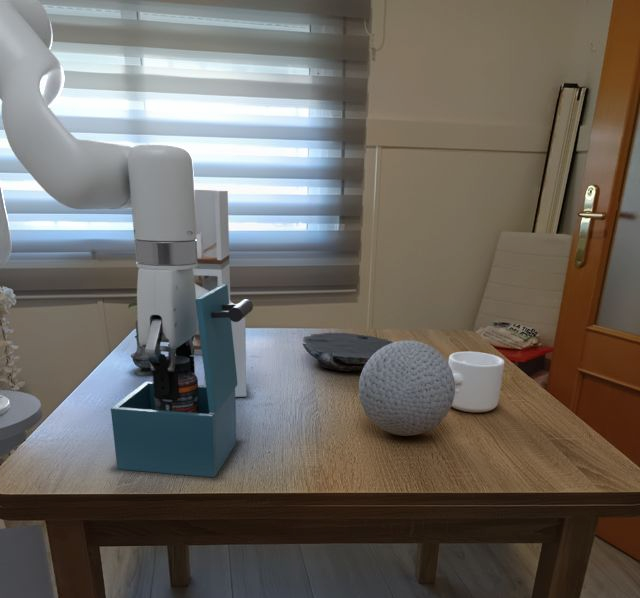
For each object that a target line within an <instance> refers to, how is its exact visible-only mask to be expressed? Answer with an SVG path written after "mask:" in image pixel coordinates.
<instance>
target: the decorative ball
mask: <svg viewBox="0 0 640 598" xmlns="http://www.w3.org/2000/svg"><path fill="white" fill-rule="evenodd" d="M448 362H449V361H447V359H446V358H445V357H444V355H442V354H441V352H439V351H438V350H436V349H435V348H434V347H432V346H431V345H428V344H426V343H424V342H421V341H417V340H408V339H407V340H405V339H404V340H398V341H394V343H391V344H388V345H386V346H384V347H382V348H381V349H379V350H378V351H377V352H375V353H374V354H373V355H372V356H371V357H370V359H369V360H368V361H367V363H366V364H365V366H364V368H363V370H361V373H360V375H359V380H358V397H359V401H360V404H361V407H362V409H363V411H364V413H365V415H366V416H367V418H368V419H369V420H370V421H371V422H372V423H373V424H374V425H375V426H376V427H378V428H379V429H381V430H383V431H384V432H387V433H389V434H392V435H395V436H403V437H409V436H410V437H411V436H417V435H421V434H424V433H426V432H428V431H430V430H432V429H435V427H436V426H438V425H439V424H440V423H441V422H442V421H443V420H444V419H445V417H446V416H447V415H448V414H449V411H450V410H451V408H452V407H451V406H452V403H453V399H454V395H455V381H454V376H453V373H452V370H451V368H450V366H449V364H448Z"/></svg>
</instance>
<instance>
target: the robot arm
mask: <svg viewBox="0 0 640 598" xmlns="http://www.w3.org/2000/svg"><path fill="white" fill-rule="evenodd" d="M47 12H48V11H47V10H46V8H45V7H44V6H43V4H42V3H41V2H40V0H0V101H1V120H2V124H3V128H4V132H5V136H6V140H7V141H8V144H9V147H10V149H11V151H12V152H13V154H14V156H15V158H17V160H18V162H19V163H20V164H21V165H22V166H23V167H24V169H26V171H27V172H28V173H29V174H30V176H31V177H32V178H33V179H34V181H35V182H36V183H37V184H38V185H39V186H40V187H41V188H42V189H43V190H44V191H45V192H46V193H47V194H48V195H49V196H50V197H51V198H53V199H54V200H55V201H56V202H58V203H59V204H61V205H63V206H65V207H67V208H70V209H74V210H128V209H129V210H131V215H132V228H133V237H134V253H135V264H136V268H138V270H137V283H136V315H137V316H136V317H137V320H138V337H139V344H140V345H141V346H142V347H143V348H145V353H146V355H147V356H148V358H149V361H150V363H151V370H152V373H153V375H152V382H153V386H154V397H155V398H156V399H164V400H177V399H178V398H179V385H178V370H174V368H175V356H184V357H187V358H189V359H190V366H191V368H190V370H191V372H193V373H194V374H195V375H196V370H195V369H196V368H195V354H194V346H193V340H194V339H193V338H194V335H195V334H196V332H197V310H196V302H195V299H196V291H195V281H194V273H193V269H194V268H196V267H198V260H197V240H196V239H197V238H196V215H195V193H194V190H195V176H194V175H195V173H194V161H193V157H192V154H191V153H190V152H189V151H188V150H187V149H185V148H184V147H180V146H176V145H167V144H164V145H163V144H137V145H135V146H131V145H124V144H117V143H109V142H104V141H99V140H98V141H97V140H90V139H80V138H76V137H75V136H74V135H73V134H72V133H71V132H70V131H69V130H68V129H67V127H66V126H65V125H64V124H63V123H62V122H61V120H60V119H59V118H58V117H57V116H56V114H55V113H54V112H53V111H52V109H51V106H52V105H53V104H54V103H55V102H56V101H57V99H58V98H59V97H60V95H61V93H62V91H63V89H64V84H65V72H64V69H63V65H62V64H61V63H60V61H59V59H58V58H57V57H56V56H55V54H53V52H52V51H51V47H52V44H53V27H52V23H51V20H50V17H49V15H48V13H47ZM12 243H13V242H12V234H11V227H10V224H9V217H8V214H7V208H6V204H5V198H4V193H3V188H2V182H1V181H0V268H2V267H3V266H5V265H6V264H7V263H8V261H9V260H10V257H11V256H12V255H11V254H12V248H13V244H12ZM161 343H168V344H167V345H161ZM162 352H164V353H168V354H167V355H166V354H164V353H162ZM166 356H168V360H167V358H166ZM9 408H10V402H9V399H8V398H6V397H4V396H2V395H0V415H2V414H4V413H5V412H6V411H8V409H9Z"/></svg>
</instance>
